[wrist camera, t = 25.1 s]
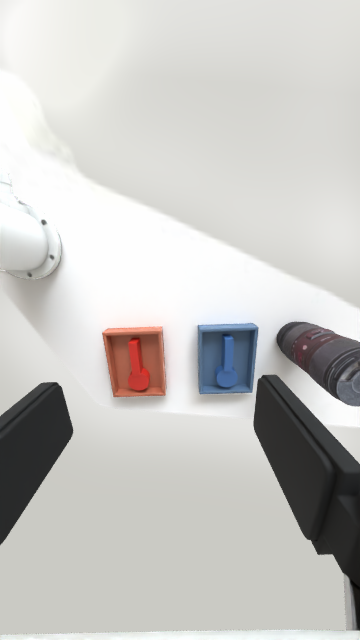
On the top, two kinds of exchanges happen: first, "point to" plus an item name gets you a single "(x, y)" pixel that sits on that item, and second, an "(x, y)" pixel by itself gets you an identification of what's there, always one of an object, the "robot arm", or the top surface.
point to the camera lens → (324, 358)
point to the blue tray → (212, 356)
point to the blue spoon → (226, 363)
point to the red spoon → (137, 367)
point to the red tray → (121, 362)
